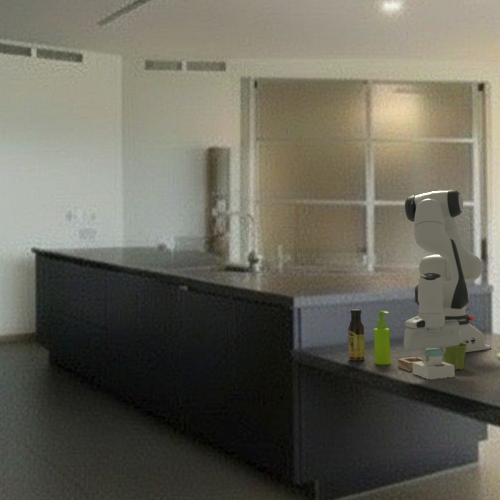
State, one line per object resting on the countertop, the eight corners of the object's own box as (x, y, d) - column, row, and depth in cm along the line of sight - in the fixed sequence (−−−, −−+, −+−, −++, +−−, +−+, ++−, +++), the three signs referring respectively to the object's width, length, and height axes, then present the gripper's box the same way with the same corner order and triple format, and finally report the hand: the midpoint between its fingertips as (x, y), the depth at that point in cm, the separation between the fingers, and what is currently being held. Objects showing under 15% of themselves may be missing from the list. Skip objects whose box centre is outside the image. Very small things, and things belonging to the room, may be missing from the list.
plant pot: (463, 372, 265) (463, 347, 264) (437, 370, 270) (436, 345, 269) (471, 367, 273) (470, 343, 272) (445, 365, 278) (444, 341, 277)
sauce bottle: (347, 359, 297) (345, 308, 297) (362, 358, 298) (361, 307, 297) (350, 362, 291) (349, 310, 290) (366, 361, 291) (365, 309, 291)
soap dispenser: (382, 365, 281) (381, 312, 280) (371, 363, 287) (369, 310, 286) (395, 363, 284) (393, 310, 283) (384, 361, 290) (382, 309, 289)
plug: (434, 370, 264) (434, 347, 264) (442, 373, 259) (441, 350, 259) (424, 371, 263) (423, 348, 263) (431, 374, 258) (431, 351, 258)
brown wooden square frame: (418, 364, 280) (418, 356, 280) (431, 369, 271) (431, 361, 271) (397, 366, 278) (397, 358, 278) (409, 371, 269) (409, 363, 269)
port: (438, 371, 268) (437, 358, 267) (454, 376, 257) (454, 363, 257) (412, 373, 265) (412, 360, 265) (428, 379, 254) (427, 366, 254)
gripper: (453, 317, 266) (455, 356, 267) (400, 321, 261) (402, 361, 261) (463, 319, 260) (464, 359, 261) (409, 324, 255) (410, 364, 255)
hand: (432, 360), depth 261 cm, fingers closed on plug, 4 cm apart
